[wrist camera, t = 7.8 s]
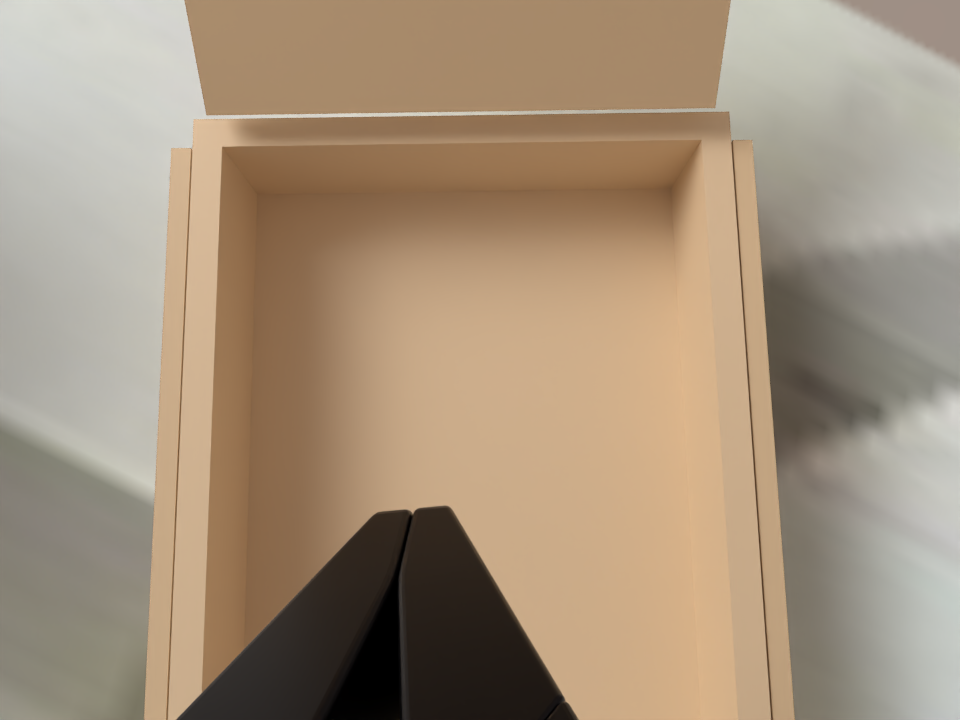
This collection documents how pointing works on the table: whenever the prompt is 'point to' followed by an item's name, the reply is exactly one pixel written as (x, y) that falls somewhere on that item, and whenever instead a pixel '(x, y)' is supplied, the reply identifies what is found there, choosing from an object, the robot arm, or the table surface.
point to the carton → (477, 391)
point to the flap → (456, 55)
